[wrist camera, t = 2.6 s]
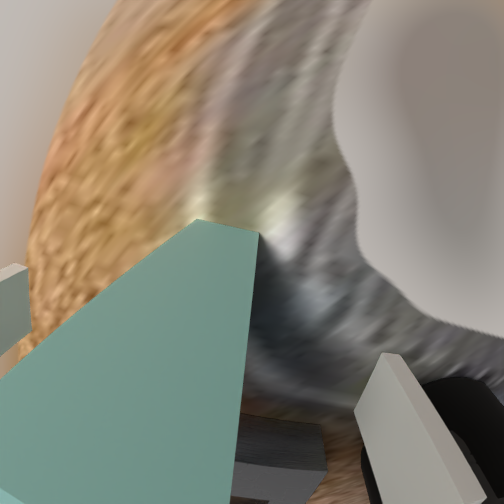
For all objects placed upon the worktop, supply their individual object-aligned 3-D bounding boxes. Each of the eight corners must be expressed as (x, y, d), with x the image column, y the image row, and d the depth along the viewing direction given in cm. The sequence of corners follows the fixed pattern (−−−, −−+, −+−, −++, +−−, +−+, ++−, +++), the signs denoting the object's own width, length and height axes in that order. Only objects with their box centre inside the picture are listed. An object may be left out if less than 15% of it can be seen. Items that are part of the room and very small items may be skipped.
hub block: (132, 385, 18) (108, 427, 14) (319, 424, 18) (328, 471, 14) (135, 481, 21) (122, 514, 17) (271, 509, 21) (271, 545, 17)
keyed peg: (196, 219, 15) (-60, 439, 1) (259, 232, 15) (220, 571, 2) (178, 329, 17) (59, 577, 3) (233, 342, 17) (183, 618, 3)
